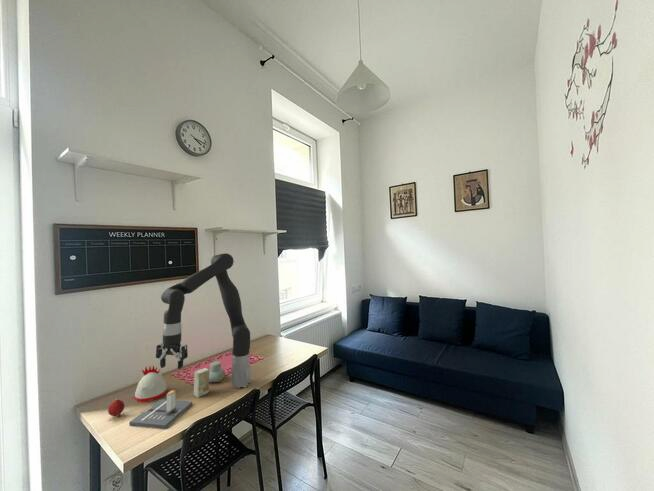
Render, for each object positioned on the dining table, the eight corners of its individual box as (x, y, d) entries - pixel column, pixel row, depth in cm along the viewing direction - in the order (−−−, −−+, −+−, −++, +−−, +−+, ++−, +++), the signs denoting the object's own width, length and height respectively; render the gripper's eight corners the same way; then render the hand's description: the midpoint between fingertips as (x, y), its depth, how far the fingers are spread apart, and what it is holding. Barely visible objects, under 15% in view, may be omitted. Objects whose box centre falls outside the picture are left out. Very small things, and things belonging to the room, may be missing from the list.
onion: (114, 412, 123) (114, 395, 123) (127, 412, 124) (127, 394, 124) (104, 420, 117) (105, 402, 118) (118, 420, 118) (118, 401, 118)
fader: (176, 407, 124) (176, 389, 124) (168, 414, 119) (169, 395, 119) (172, 407, 124) (172, 389, 124) (164, 413, 119) (165, 394, 119)
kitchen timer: (138, 390, 143) (139, 362, 143) (168, 385, 148) (168, 358, 149) (131, 404, 130) (132, 373, 130) (163, 398, 135) (164, 368, 136)
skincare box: (198, 397, 136) (198, 373, 136) (193, 395, 138) (193, 371, 139) (209, 392, 141) (209, 369, 142) (204, 390, 144) (205, 367, 144)
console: (192, 404, 130) (192, 401, 130) (165, 428, 112) (165, 425, 112) (160, 402, 132) (160, 398, 132) (129, 425, 114) (129, 421, 114)
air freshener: (215, 385, 149) (215, 367, 149) (202, 384, 150) (203, 366, 151) (227, 376, 159) (227, 360, 159) (214, 375, 161) (215, 358, 161)
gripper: (191, 330, 125) (190, 365, 125) (164, 329, 127) (163, 363, 127) (180, 335, 118) (180, 372, 117) (151, 334, 120) (151, 370, 119)
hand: (171, 367), depth 122 cm, fingers open, 8 cm apart
